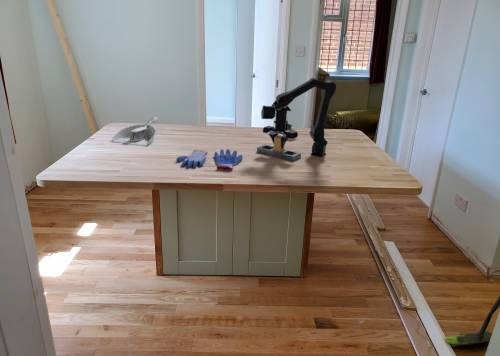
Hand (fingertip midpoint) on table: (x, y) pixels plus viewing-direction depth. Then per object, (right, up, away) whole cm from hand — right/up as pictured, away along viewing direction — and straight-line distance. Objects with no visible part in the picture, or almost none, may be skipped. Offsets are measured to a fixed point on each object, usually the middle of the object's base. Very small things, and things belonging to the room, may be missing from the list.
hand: (278, 147), depth 209 cm
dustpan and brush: (-79, +8, +22) cm, 82 cm away
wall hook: (+9, +9, +35) cm, 37 cm away
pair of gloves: (-36, -8, -13) cm, 39 cm away
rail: (0, -4, +1) cm, 4 cm away
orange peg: (0, -3, +1) cm, 3 cm away
